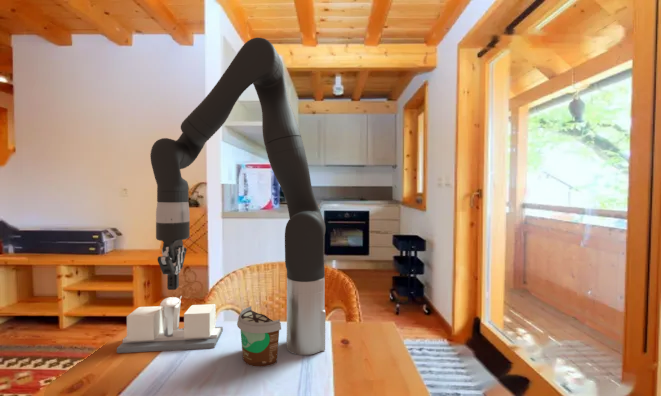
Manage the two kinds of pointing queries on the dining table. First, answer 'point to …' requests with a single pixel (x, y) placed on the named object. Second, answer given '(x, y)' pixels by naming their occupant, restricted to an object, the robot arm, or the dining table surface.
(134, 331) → the twin block base plate
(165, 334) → the milkshake
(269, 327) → the food container
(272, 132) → the robot arm
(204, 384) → the dining table surface
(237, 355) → the dining table surface
